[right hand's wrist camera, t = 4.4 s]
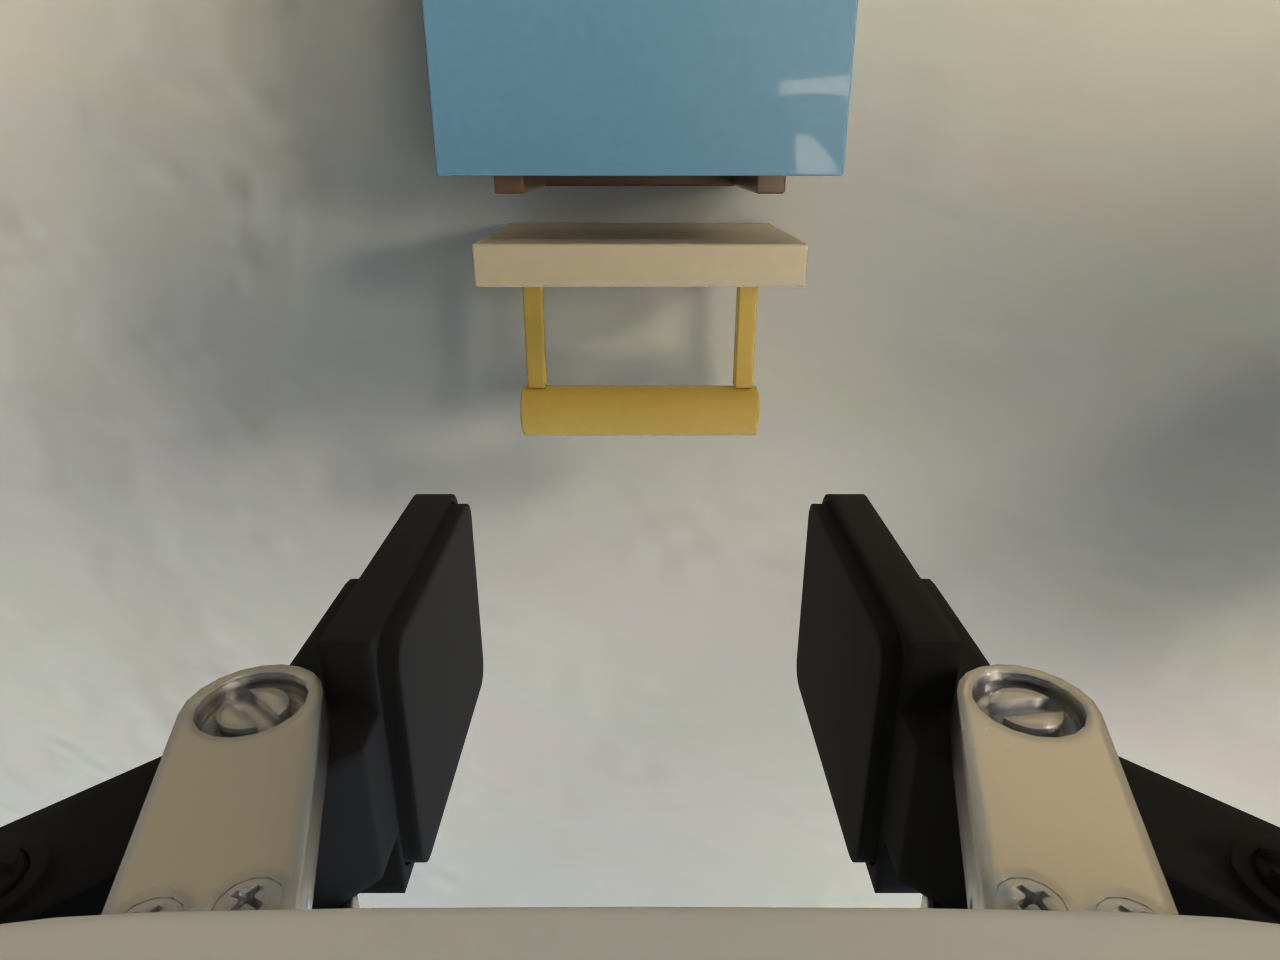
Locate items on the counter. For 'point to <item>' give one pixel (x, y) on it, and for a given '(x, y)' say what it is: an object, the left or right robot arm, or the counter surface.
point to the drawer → (639, 262)
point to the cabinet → (639, 86)
